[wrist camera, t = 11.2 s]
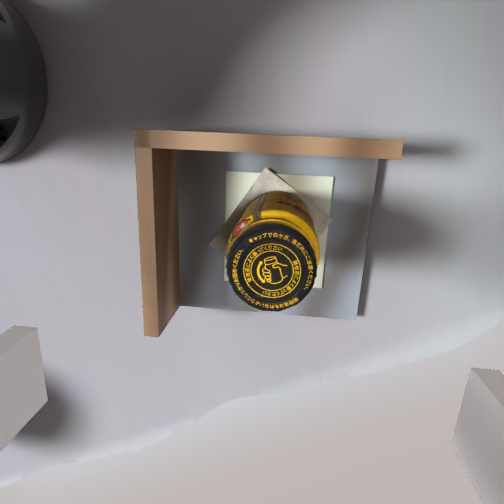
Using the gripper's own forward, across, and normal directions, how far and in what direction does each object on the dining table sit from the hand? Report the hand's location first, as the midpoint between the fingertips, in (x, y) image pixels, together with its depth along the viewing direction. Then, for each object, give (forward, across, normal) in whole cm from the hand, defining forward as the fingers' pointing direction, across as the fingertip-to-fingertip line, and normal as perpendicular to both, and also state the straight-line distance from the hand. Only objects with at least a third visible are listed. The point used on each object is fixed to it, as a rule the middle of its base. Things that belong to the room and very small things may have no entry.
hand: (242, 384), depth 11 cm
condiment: (+22, 0, -1) cm, 22 cm away
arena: (+23, -1, 0) cm, 23 cm away
